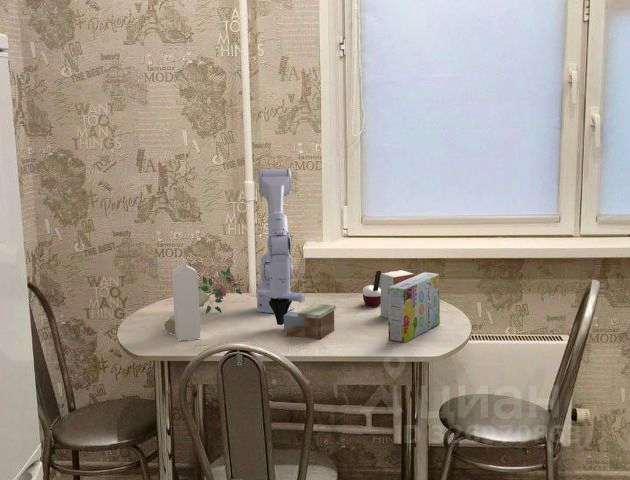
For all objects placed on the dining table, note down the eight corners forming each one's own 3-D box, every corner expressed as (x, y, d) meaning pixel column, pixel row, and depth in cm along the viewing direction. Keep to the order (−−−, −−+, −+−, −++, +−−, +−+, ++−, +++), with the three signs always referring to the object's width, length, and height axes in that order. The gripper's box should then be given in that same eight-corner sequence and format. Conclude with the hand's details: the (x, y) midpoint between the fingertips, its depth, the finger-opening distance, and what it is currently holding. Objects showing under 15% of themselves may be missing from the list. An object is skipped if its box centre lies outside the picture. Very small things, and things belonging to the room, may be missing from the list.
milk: (178, 341, 215) (174, 262, 211) (175, 335, 221) (170, 258, 217) (201, 339, 217) (197, 260, 213) (196, 333, 223) (193, 256, 219)
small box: (393, 320, 233) (393, 277, 231) (380, 315, 238) (380, 273, 236) (414, 315, 237) (414, 273, 235) (400, 311, 243) (401, 269, 240)
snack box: (423, 321, 231) (423, 271, 228) (440, 324, 228) (441, 273, 225) (386, 340, 214) (386, 286, 211) (405, 343, 211) (405, 288, 208)
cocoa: (363, 303, 254) (361, 266, 253) (382, 302, 254) (381, 265, 252) (363, 309, 245) (361, 271, 243) (383, 309, 244) (382, 270, 243)
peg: (284, 332, 223) (283, 315, 222) (290, 328, 227) (290, 311, 226) (316, 336, 219) (315, 318, 218) (322, 332, 222) (321, 315, 222)
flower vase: (167, 357, 226) (216, 301, 256) (202, 349, 221) (248, 293, 251) (149, 321, 222) (201, 269, 253) (185, 312, 217) (234, 260, 248)
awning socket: (284, 336, 219) (284, 311, 218) (303, 325, 229) (302, 301, 228) (319, 340, 214) (318, 315, 213) (336, 329, 224) (336, 305, 223)
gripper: (250, 278, 223) (251, 324, 225) (296, 282, 216) (297, 330, 219) (262, 273, 229) (263, 318, 231) (307, 277, 223) (308, 324, 225)
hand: (280, 324), depth 226 cm, fingers closed
